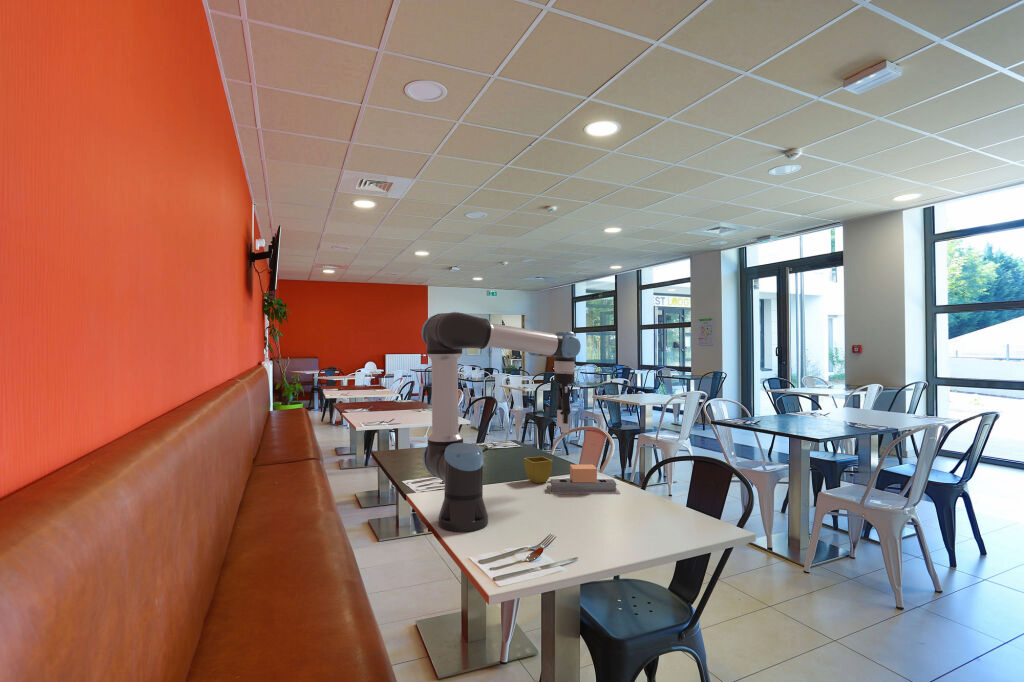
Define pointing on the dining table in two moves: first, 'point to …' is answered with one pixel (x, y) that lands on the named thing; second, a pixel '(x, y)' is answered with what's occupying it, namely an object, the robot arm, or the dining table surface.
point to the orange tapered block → (583, 473)
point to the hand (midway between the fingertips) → (562, 429)
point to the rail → (582, 487)
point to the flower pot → (538, 469)
